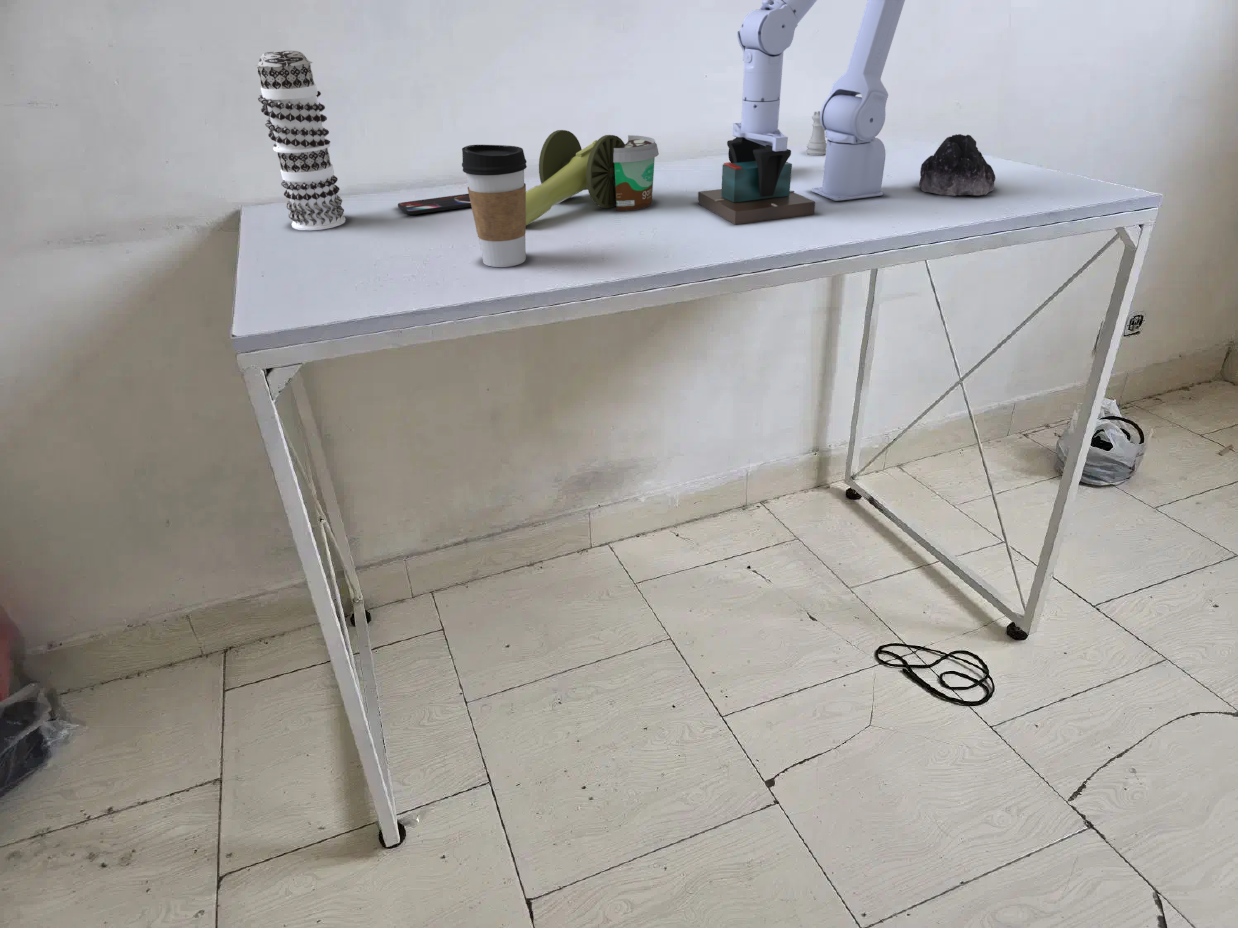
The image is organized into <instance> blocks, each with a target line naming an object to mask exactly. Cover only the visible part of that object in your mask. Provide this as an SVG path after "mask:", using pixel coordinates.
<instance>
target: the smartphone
mask: <svg viewBox="0 0 1238 928" xmlns="http://www.w3.org/2000/svg"><path fill="white" fill-rule="evenodd" d="M397 207H398V209H400V210H401V211H402V212H403V213H404V214H405V215H407V216H412V215H419V214H427V213H434V212H435V213H436V212H441V211H448V210H455V209H463V208H472V207H471V202H470V197H469V193H463V194H462V193H461V194H455V195H448V196H439V197H432V198H425V199H417V200H410V201H403V202H398V203H397Z"/></svg>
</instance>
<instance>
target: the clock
mask: <svg viewBox="0 0 1238 928" xmlns="http://www.w3.org/2000/svg"><path fill="white" fill-rule="evenodd" d="M721 192H722V188H719V189H709V190H701V191H697V204H698V205H700V206H701V207H703V208H705V209H707V210H708V211H710V212H712V213H714V214H716V216H717V215H718V216H719V217H721V218H723V219H724V220H726V221H728V222H730V223H732V224H733V225H740V224H741V225H742V224H750V223H756V222H765V221H773V220H780V219H788V218H789V219H790V218H796V217H804V216H812V215H815V210H816V201H814V200H813V199H810V198H808V197H805V196H803V195H801V194H799V193H797V192H795V190H790V194H789V196H785V197H776V198H768V199H760V200H751V201H743V202H735V203H734V202H732V201H730V200H728V199H726V198H724V197H722V196H721Z"/></svg>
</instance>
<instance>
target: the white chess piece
mask: <svg viewBox="0 0 1238 928" xmlns="http://www.w3.org/2000/svg"><path fill="white" fill-rule="evenodd" d="M820 112H821V110H818V111H814V112H813V115H812V116H811V119H812V120H813V123H812V124H811V126H812V132H811V135H810V139H809V141H808V143H807V144H806V148H807V149H806V150H805V153H806V154H807V155H809V156H823V155H825V156H826V146H827V139H826V137H825V133H826V131H825V130H824V129H823V127H822V125H821V122H820Z"/></svg>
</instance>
